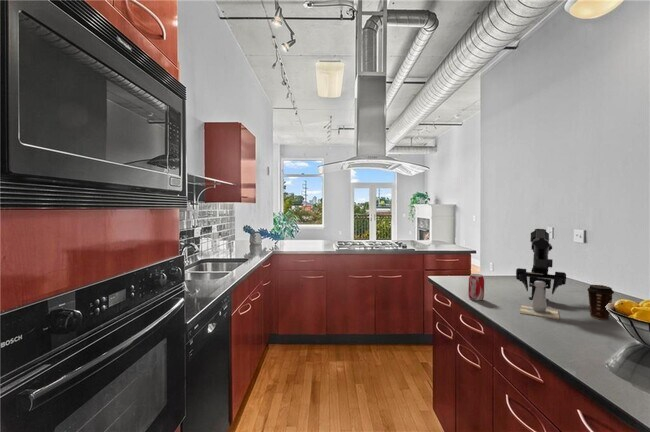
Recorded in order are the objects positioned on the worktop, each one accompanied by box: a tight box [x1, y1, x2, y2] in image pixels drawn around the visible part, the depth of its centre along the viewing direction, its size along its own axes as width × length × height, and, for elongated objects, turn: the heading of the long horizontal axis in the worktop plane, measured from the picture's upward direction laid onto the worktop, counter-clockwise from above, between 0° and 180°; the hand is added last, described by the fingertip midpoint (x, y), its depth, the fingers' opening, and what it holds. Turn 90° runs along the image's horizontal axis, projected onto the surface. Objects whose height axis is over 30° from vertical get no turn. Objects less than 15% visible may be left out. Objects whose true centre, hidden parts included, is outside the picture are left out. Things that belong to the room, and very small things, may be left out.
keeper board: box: [519, 304, 560, 320], centre depth 152 cm, size 14×14×1 cm
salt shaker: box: [530, 281, 548, 312], centre depth 152 cm, size 6×6×13 cm
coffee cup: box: [587, 284, 615, 320], centre depth 146 cm, size 9×8×13 cm
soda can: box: [467, 273, 485, 302], centre depth 171 cm, size 7×7×12 cm
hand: (539, 292), depth 151 cm, fingers open, 9 cm apart
